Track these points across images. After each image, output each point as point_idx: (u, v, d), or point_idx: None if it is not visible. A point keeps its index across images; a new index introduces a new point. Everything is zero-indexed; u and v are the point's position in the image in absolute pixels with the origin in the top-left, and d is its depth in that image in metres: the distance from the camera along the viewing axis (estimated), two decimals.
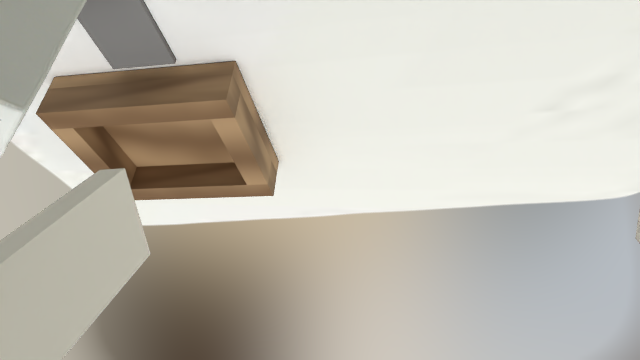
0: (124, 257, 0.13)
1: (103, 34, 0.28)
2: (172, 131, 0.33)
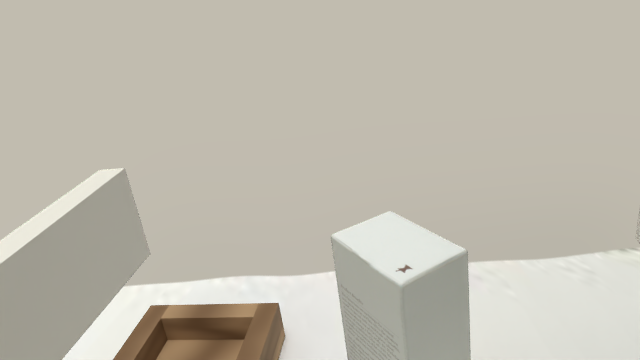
0: (124, 257, 0.13)
1: None
2: None
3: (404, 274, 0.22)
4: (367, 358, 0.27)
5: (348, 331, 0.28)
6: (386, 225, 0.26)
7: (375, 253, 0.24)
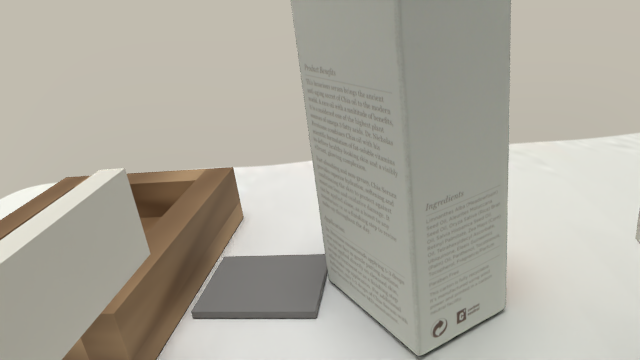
0: (124, 257, 0.13)
1: (271, 265, 0.22)
2: None
3: None
4: (344, 179, 0.17)
5: (317, 149, 0.18)
6: None
7: None
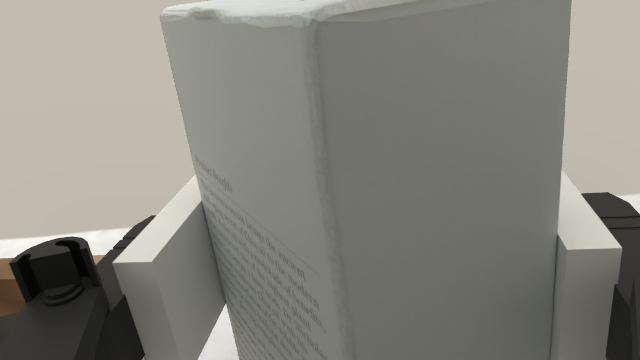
0: None
1: None
2: None
3: None
4: (263, 355, 0.10)
5: (227, 286, 0.11)
6: None
7: (253, 0, 0.07)
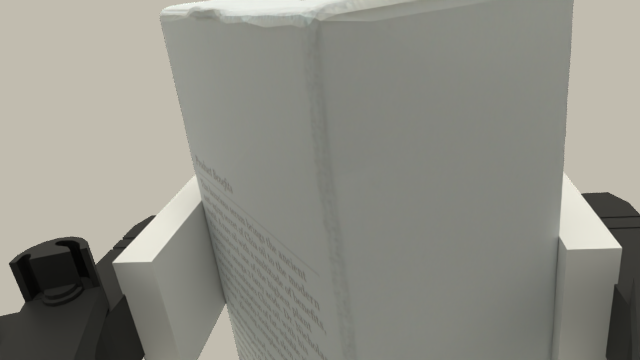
0: None
1: None
2: None
3: None
4: (263, 356, 0.10)
5: (227, 286, 0.11)
6: None
7: (252, 0, 0.07)
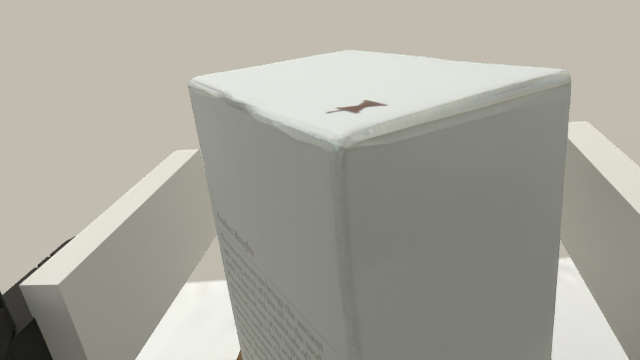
0: (200, 233, 0.14)
1: None
2: None
3: (354, 115, 0.06)
4: None
5: (241, 332, 0.12)
6: (333, 59, 0.10)
7: (280, 91, 0.08)
